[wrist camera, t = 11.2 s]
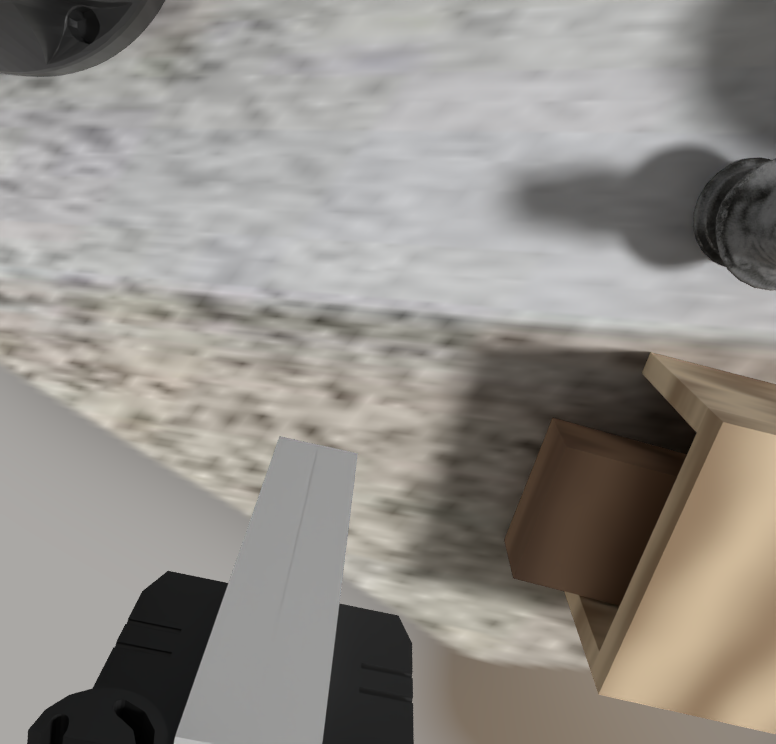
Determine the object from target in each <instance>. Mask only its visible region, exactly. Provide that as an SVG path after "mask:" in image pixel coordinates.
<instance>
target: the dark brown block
mask: <svg viewBox="0 0 776 744" xmlns="http://www.w3.org/2000/svg"><path fill="white" fill-rule="evenodd" d="M686 456H687V454H683V453H680V452H676V451H672V450H669V449H665V448H661V447H658V446H654V445H651V444H647V443H643V442H640V441H636V440H632V439H629V438H625V437H621V436H618V435H614V434H610V433H607V432H603V431H600V430H596V429H592V428H589V427H585V426H581V425H578V424H574V423H570V422H567V421H563V420H559V419H556V418H552V420H551V423H550V425H549V428H548V430H547V433H546V435H545V438H544V440H543V443H542V446H541V448H540V451H539V453H538V456H537V458H536V461H535V463H534V466H533V468H532V471H531V473H530V476H529V478H528V481H527V483H526V486H525V488H524V491H523V494H522V496H521V499H520V501H519V504H518V506H517V509H516V511H515V514H514V516H513V519H512V521H511V524H510V526H509V529H508V531H507V534H506V537H505V539H504V541H505V545H506V549H507V554H508V558H509V562H510V567H511V571H512V575H513V578H514V579H518V580H522V581H526V582H530V583H534V584H538V585H542V586H545V587H549V588H553V589H557V590H561V591H565V592H569V593H573V594H576V595H580V596H584V597H588V598H592V599H596V600H600V601H604V602H607V603H611V604H615V605H619V606H620V604H621V602H622V600H623V597H624V595H625V593H626V591H627V588H628V586H629V584H630V582H631V579H632V577H633V575H634V573H635V570H636V568H637V566H638V564H639V562H640V559H641V557H642V555H643V553H644V550H645V548H646V546H647V544H648V541H649V539H650V537H651V535H652V532H653V530H654V528H655V526H656V523H657V521H658V519H659V517H660V514H661V512H662V510H663V508H664V505H665V503H666V501H667V499H668V496H669V494H670V492H671V490H672V487H673V485H674V483H675V481H676V479H677V476H678V474H679V472H680V470H681V467H682V465H683V463H684V461H685V458H686Z"/></svg>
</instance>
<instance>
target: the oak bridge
mask: <svg viewBox="0 0 776 744" xmlns="http://www.w3.org/2000/svg"><path fill="white" fill-rule="evenodd" d="M642 374H643V375H644V376H645V377H646V378H647V379H648V380H649V381H650V382H651V384H652V385H653V386H654V387H655V388H656V389H657V390H658V391H659V392H660V393H661V394H662V395H663V397H664V398H665V399H666V400H667V401H668V402H669V403H670V404H671V405H672V406H673V407H674V408H675V410H676V411H677V412H678V413H679V414H680V415H681V416H682V417H683V418H684V419H685V420H686V421H687V423H688V424H689V425H690V426H691V427H692V428H693V429H694V430H695V431H696V432H697V434H696V436H695V438H694V440H693V443H692V445H691V447H690V449H689V452H688V454H687V456H686V458H685V461H684V463H683V465H682V467H681V470H680V472H679V474H678V476H677V479H676V481H675V483H674V485H673V487H672V490H671V492H670V494H669V496H668V499H667V501H666V503H665V505H664V508H663V510H662V512H661V514H660V517H659V519H658V521H657V523H656V526H655V528H654V530H653V532H652V535H651V537H650V539H649V541H648V544H647V546H646V548H645V550H644V553H643V555H642V557H641V559H640V562H639V564H638V566H637V568H636V570H635V573H634V575H633V577H632V579H631V582H630V584H629V586H628V588H627V591H626V593H625V595H624V597H623V600H622V602H621V604H620V606H619V605H615V604H611V603H607V602H604V601H600V600H596V599H592V598H588V597H584V596H580V595H576V594H573V593H569V592H565V591H564V592H565V595H566V598H567V601H568V604H569V607H570V610H571V613H572V616H573V619H574V622H575V625H576V628H577V631H578V634H579V637H580V640H581V643H582V646H583V649H584V652H585V655H586V658H587V661H588V664H589V667H590V670H591V673H592V676H593V679H594V682H595V685H596V688H597V691H598V694H599V695H604V696H608V697H612V698H617V699H622V700H626V701H630V702H635V703H639V704H643V705H648V706H653V707H657V708H661V709H666V710H670V711H675V712H679V713H684V714H688V715H692V716H697V717H702V718H706V719H710V720H715V721H719V722H724V723H728V724H733V725H737V726H741V727H746V728H750V729H755V730H760V731H764V732H768V733H772V734H776V384H772V383H768V382H764V381H760V380H756V379H753V378H749V377H745V376H741V375H737V374H733V373H729V372H725V371H721V370H718V369H714V368H710V367H706V366H702V365H698V364H694V363H690V362H686V361H683V360H679V359H675V358H671V357H667V356H663V355H659V354H655V353H651V352H650V354H649V357H648V359H647V362H646V364H645V367H644V369H643V372H642Z"/></svg>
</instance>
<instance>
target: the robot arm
mask: <svg viewBox="0 0 776 744" xmlns="http://www.w3.org/2000/svg"><path fill="white" fill-rule="evenodd" d="M164 2H165V0H0V73H5V74H14V75H22V76H35V77H48V76H59V75H65V74H71V73H75V72H79V71H82V70H85V69H88V68H91V67H93V66H96V65H98V64H100V63H102V62H104V61H106V60H108V59H110V58H111V57H113V56H115V55H116V54H118V53H119V52H121V51H122V50H123V49H125V48H126V47H127V46H128V45H130V44H131V43H132V42H133V41H134V40H135V39H136V38H137V37H138V36H139V35H140V34H141V33H142V32H143V31H144V30H145V29H146V28H147V26H148V25H149V24H150V23H151V22H152V20H153V19H154V17H155V16H156V14H157V13H158V12H159V10H160V8H161V7H162V5H163V3H164ZM357 455H358V453H354V452H349V451H345V450H340V449H336V448H331V447H327V446H322V445H317V444H313V443H308V442H304V441H299V440H295V439H290V438H286V437H281V436H280V437H279V439H278V442H277V445H276V448H275V451H274V454H273V457H272V460H271V462H270V465H269V468H268V471H267V474H266V477H265V480H264V483H263V485H262V488H261V491H260V494H259V497H258V500H257V503H256V505H255V508H254V511H253V514H252V517H251V520H250V523H249V526H248V528H247V531H246V534H245V537H244V540H243V543H242V546H241V549H240V552H239V555H238V557H237V560H236V563H235V566H234V569H233V572H232V574H231V577H230V580H229V583H225V582H220V581H215V580H210V579H205V578H200V577H195V576H190V575H186V574H181V573H176V572H171V571H167V572H166V573H165V574H164V575H162V576H161V577H160V578H158V580H156V581H155V582H153V583H152V584H151V585H150V586H148V587H147V588H146V589H145V590H144V591H142V593H141V595H140V597H139V599H138V601H137V603H136V605H135V607H134V609H133V611H132V613H131V615H130V617H129V618H128V622H127V624H125V626H124V628H123V630H122V632H121V634H120V636H119V638H118V640H117V643H116V646H115V648H113V650H112V652H111V654H110V655H109V657H108V659H107V661H106V663H105V666H104V667H103V669H102V671H101V673H100V675H99V677H98V679H97V681H96V683H95V685H94V687H93V689H89V690H86V691H82V692H78V693H75V694H71V695H69V696H67V697H65V698H64V699H62V700H60V701H59V702H57V703H55V704H54V705H53V706H50V707H49V708H47V709H46V710H45V711H44V712H43V713H42V714H41V716H40V717H39V718H38V719H37V720H36V721H35V723H34V724H33V725H32V726H31V727H30V729H29V730H28V743H27V744H414V742H413V703H412V698H413V680H412V642H411V640H410V638H409V636H408V634H407V632H406V630H405V628H404V626H403V624H402V622H401V620H400V618H399V616H397V615H393V614H388V613H383V612H378V611H373V610H368V609H363V608H358V607H353V606H348V605H344V604H339V603H340V594H341V586H342V578H343V570H344V562H345V553H346V545H347V537H348V529H349V521H350V513H351V504H352V496H353V488H354V480H355V472H356V463H357Z"/></svg>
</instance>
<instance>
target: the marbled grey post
mask: <svg viewBox="0 0 776 744" xmlns="http://www.w3.org/2000/svg"><path fill="white" fill-rule="evenodd" d="M693 227H694V232H695V236H696V240H697V242H698V244H699V245H700V247H701V249H702V251H703V252H704V253H705V254H706V255H707V256H708V257H709V258H711V259H712V260H713V261H715V262H717V263H719V264H721V265H723V266H725V267H727V269H728V270H729V271H730V272H731V273H732V274H733V275H734V276H735V277H736V278H737V279H738V280H740V281H742V282H744V283H746V284H748V285H750V286H752V287H754V288H760V289H765V290H776V159H773V160H770V159H764V158H753V159H745V160H742V161H739V162H736V163H734V164H731V165H729V166H728V167H726V168H725V169H723V170H722V171H720V172H719V173H717V174H716V175H715V176H714V177H713V178H712V179H711V180H710V182H709V183H708V184H707V185H706V186H705V188H704V190H703V191H702V193H701V195H700V196H699V198H698V201H697V205H696V208H695V211H694V225H693Z"/></svg>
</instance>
